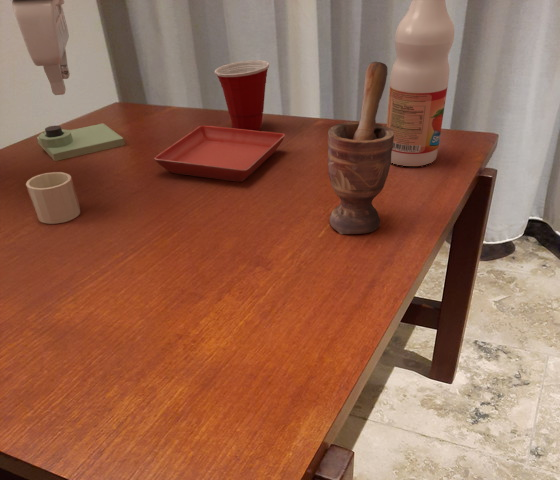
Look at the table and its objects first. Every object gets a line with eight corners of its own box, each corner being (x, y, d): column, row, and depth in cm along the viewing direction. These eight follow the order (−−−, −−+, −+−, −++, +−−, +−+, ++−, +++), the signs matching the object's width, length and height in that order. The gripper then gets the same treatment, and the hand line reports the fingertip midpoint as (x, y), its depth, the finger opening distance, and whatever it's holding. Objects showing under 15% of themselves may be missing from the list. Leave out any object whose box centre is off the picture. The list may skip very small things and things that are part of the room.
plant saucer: (247, 188, 92) (246, 168, 90) (154, 176, 97) (151, 157, 95) (287, 151, 105) (286, 133, 102) (202, 142, 110) (200, 124, 108)
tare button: (49, 139, 106) (47, 131, 105) (45, 135, 108) (43, 127, 107) (65, 136, 108) (62, 128, 107) (60, 132, 110) (58, 124, 109)
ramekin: (44, 227, 84) (32, 192, 80) (33, 212, 88) (21, 178, 84) (86, 216, 86) (76, 181, 83) (73, 202, 90) (63, 168, 87)
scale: (52, 162, 105) (47, 145, 103) (36, 144, 112) (31, 129, 110) (125, 145, 110) (121, 129, 108) (104, 129, 118) (101, 115, 116)
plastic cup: (226, 120, 120) (220, 58, 112) (275, 121, 118) (273, 58, 111) (215, 137, 112) (207, 72, 104) (267, 138, 110) (264, 71, 102)
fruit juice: (378, 151, 103) (393, -35, 85) (428, 147, 103) (454, -38, 85) (389, 170, 96) (408, -29, 78) (443, 166, 96) (474, -32, 78)
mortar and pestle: (325, 202, 87) (327, 59, 74) (380, 201, 86) (393, 58, 73) (326, 237, 78) (330, 82, 65) (388, 236, 78) (404, 80, 65)
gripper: (19, -31, 83) (47, 71, 92) (-2, -15, 68) (33, 105, 77) (63, -33, 84) (85, 68, 93) (51, -17, 69) (80, 101, 78)
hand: (62, 85), depth 85 cm, fingers open, 8 cm apart
